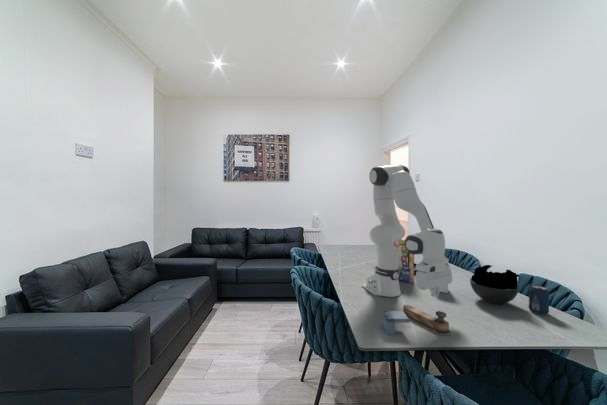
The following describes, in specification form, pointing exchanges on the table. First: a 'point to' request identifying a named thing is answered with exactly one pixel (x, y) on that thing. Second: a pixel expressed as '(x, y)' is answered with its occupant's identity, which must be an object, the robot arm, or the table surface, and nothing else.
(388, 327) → the keeper
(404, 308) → the link
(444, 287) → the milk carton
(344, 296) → the table surface
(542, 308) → the soda can
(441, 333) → the pin washer
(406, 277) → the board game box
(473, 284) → the bowl of black rocks
